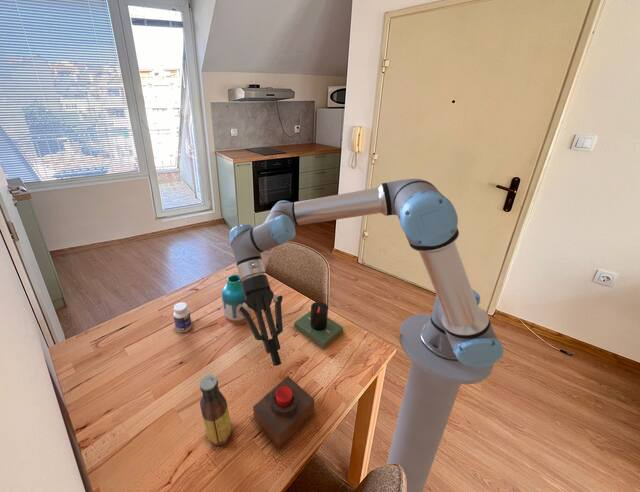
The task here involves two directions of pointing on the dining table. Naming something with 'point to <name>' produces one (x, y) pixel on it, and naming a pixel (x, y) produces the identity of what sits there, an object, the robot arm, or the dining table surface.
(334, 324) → the panel
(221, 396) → the sauce bottle
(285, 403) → the light button
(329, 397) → the dining table surface
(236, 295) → the vase
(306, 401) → the switch box
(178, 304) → the pill bottle
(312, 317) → the dimmer knob
